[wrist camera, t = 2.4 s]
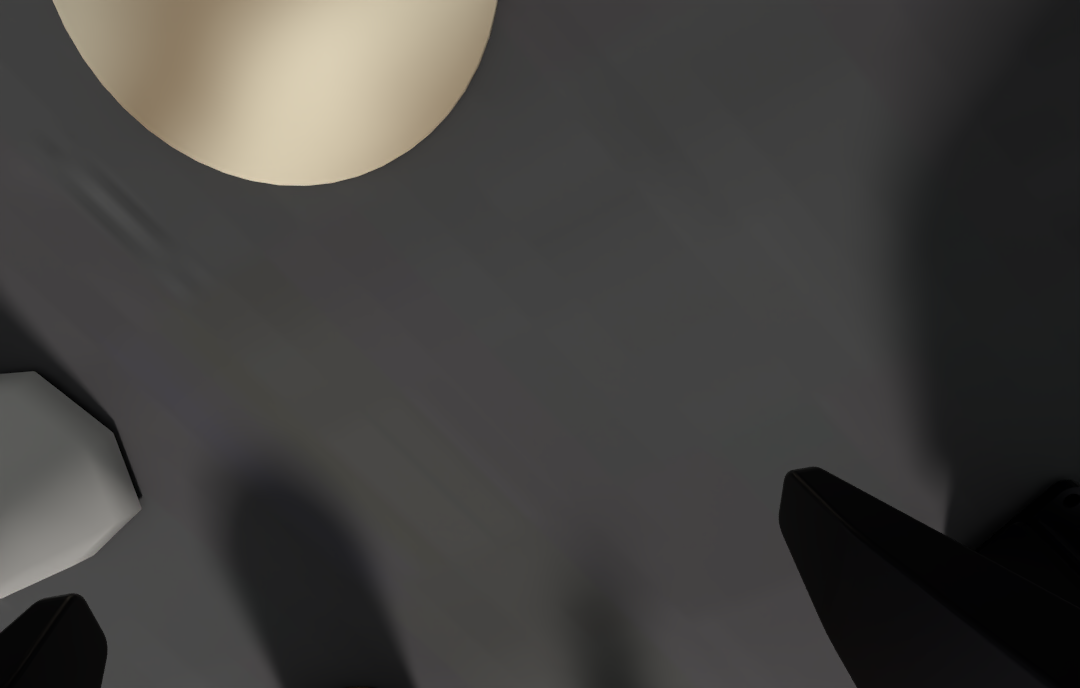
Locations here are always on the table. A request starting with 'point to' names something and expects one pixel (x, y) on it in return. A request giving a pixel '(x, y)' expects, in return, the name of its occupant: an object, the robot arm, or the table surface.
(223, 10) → the coaster
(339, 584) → the table surface
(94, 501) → the flask
